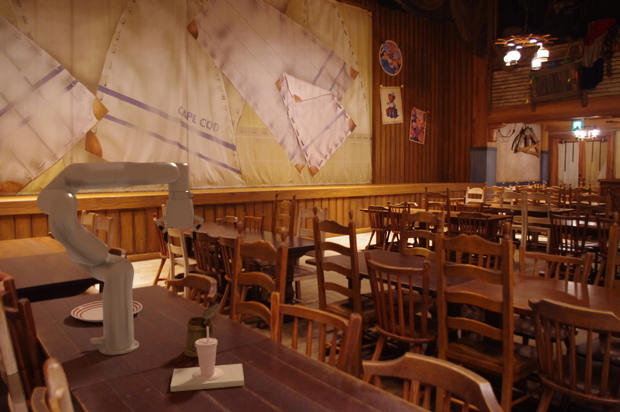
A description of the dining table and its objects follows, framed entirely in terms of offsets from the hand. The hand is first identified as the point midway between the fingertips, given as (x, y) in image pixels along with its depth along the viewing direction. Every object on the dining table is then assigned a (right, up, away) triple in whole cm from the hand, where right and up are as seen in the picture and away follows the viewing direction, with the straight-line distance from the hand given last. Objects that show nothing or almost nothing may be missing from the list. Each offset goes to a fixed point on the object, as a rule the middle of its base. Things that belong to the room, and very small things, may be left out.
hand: (180, 242), depth 187 cm
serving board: (+18, -37, -41) cm, 58 cm away
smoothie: (+18, -35, -41) cm, 57 cm away
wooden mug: (+13, -35, -20) cm, 43 cm away
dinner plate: (-36, -32, +23) cm, 53 cm away
